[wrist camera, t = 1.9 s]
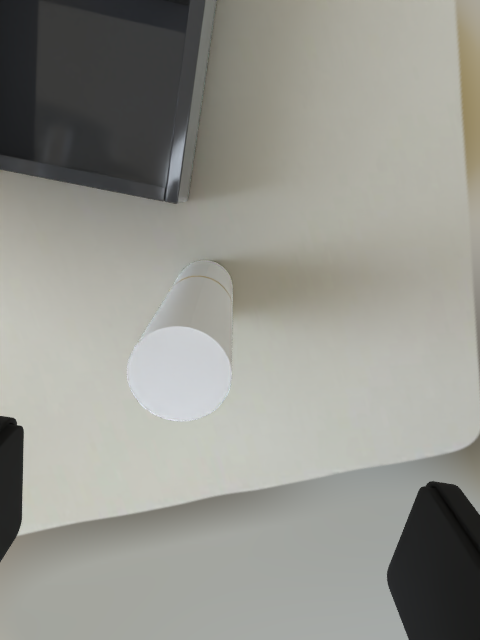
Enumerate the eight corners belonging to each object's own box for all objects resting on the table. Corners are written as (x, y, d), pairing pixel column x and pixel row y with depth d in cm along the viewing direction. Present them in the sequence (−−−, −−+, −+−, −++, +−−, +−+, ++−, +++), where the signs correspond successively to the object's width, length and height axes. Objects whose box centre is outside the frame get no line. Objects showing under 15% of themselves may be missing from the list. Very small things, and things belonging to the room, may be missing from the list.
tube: (182, 254, 30) (134, 315, 16) (238, 267, 30) (242, 338, 16) (172, 308, 31) (119, 410, 17) (226, 320, 32) (219, 430, 17)
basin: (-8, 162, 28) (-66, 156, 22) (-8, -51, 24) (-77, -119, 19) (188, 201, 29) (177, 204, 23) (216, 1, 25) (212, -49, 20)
